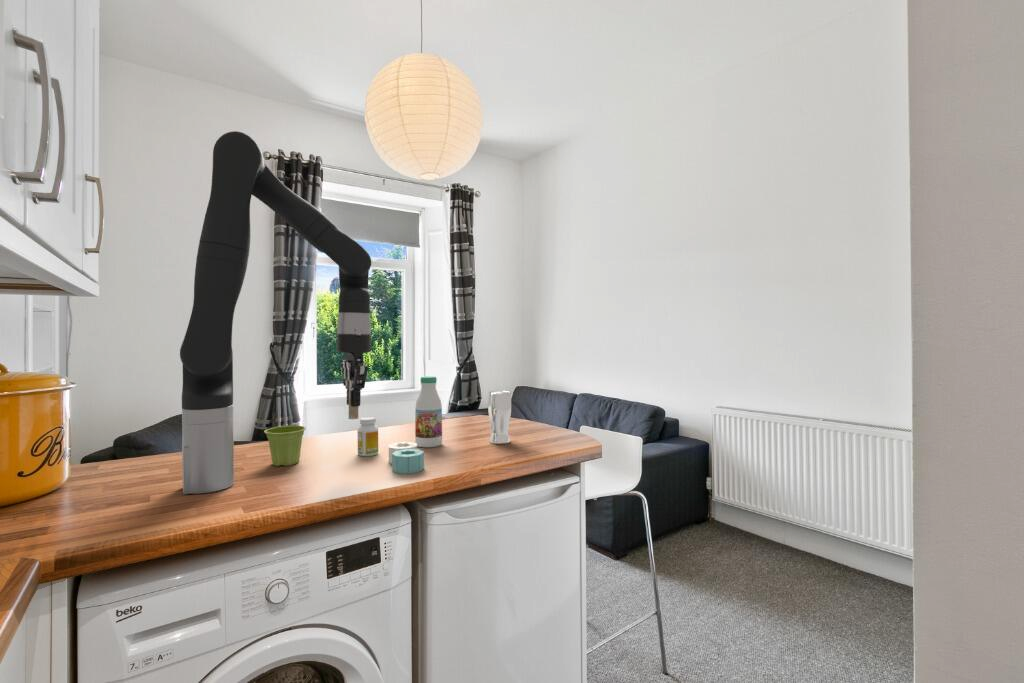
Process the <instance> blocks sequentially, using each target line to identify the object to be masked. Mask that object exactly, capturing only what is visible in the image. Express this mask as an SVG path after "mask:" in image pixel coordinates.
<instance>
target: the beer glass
mask: <svg viewBox="0 0 1024 683" xmlns="http://www.w3.org/2000/svg"><path fill="white" fill-rule="evenodd" d="M487 403H488V404H487V405H488V406H487V409H488V410H487V411H488V417H489V424H490V437H489V443H490V444H493V445H507V444H510V442H511V438H510V433H509V432H510V430H509V429H510V428H509V427H510V420H511V415H512V395H511V391H506V390H494V391H493V390H492V391H489V392H488V402H487Z"/></svg>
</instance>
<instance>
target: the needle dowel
mask: <svg viewBox="0 0 1024 683" xmlns="http://www.w3.org/2000/svg"><path fill="white" fill-rule="evenodd" d="M352 377H354V376H352ZM357 383H358V381H357ZM350 391H351V390H350V381H349V405H348V420H358V419H359V406H357V407H352V406H350Z"/></svg>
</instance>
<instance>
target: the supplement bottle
mask: <svg viewBox="0 0 1024 683" xmlns="http://www.w3.org/2000/svg"><path fill="white" fill-rule="evenodd" d="M359 420H360V421H359V424H360V426H358V428H357V455H358V456H360V457H371V456H376V455H378V454H379V427H378V425H375V424H376V422H377V421H376V417H372V416H371V417H370V416H369V417H368V416H367V417H361V418H360V419H359Z"/></svg>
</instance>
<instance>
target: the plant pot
mask: <svg viewBox="0 0 1024 683" xmlns="http://www.w3.org/2000/svg"><path fill="white" fill-rule="evenodd" d="M305 430H306V426H303V425H282V426H274V427H271V428H267V429H265V430H264V431H263V432H264V434H265V435H266V438H267V439H268V444H269V445H268V446H269V452H270V457H271V462H272V465H273V466H275V467H279V466H286V467H288V466H292V465H296V464H297V463H299V462H300V458H301V449H302V441H303V436H304V433H305Z"/></svg>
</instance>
